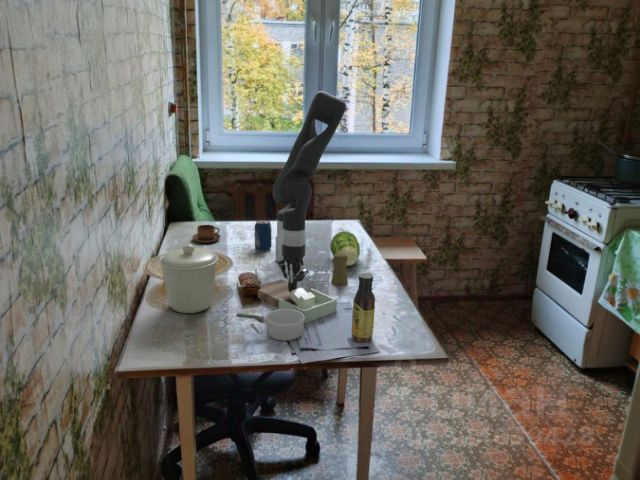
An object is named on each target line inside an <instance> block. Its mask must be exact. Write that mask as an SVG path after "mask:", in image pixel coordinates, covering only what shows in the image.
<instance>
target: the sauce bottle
mask: <svg viewBox="0 0 640 480" xmlns="http://www.w3.org/2000/svg"><path fill="white" fill-rule="evenodd" d="M373 282H374V275H373V274H371V273H368V272H363V273H360V274H359V275H358V288H357V291H356V293H355V295H354V298H353V302H352V303H353V304H352V314H351V315H352V316H351V317H352V319H351V338H352V339H353V340H354V341H356V342H360V343H361V342H362V343H367V342H369V341H371V340H372V337H373V334H374V322H375V309H376V308H375V307H376V306H375V304H376V296H375V293H374V292H373Z"/></svg>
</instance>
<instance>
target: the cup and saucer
mask: <svg viewBox="0 0 640 480" xmlns="http://www.w3.org/2000/svg"><path fill="white" fill-rule="evenodd" d="M216 230H217V232H216ZM219 233H220V228H219V227H216V226H215V225H212V224H201V225H198V226H197V233H195V234H193V235H192V236H191V238H192V239H193V241H195V242H197V243H201V244H202V243H204V244H209V243H214V242H217V241H218V240H220V238H221V234H219Z"/></svg>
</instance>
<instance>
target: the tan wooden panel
mask: <svg viewBox="0 0 640 480" xmlns="http://www.w3.org/2000/svg"><path fill="white" fill-rule="evenodd" d="M260 285H261V289H259V290H258V299H259V298H260V300H262V301H263V302H266V303H268V304H269V305H270V306H273V307H274V308H277V309H279V299H282V300H284V301H286V302H288V303H290V304H295V302H294V301H293V300H292V299H291V298H290V293H291V292H289V290H288V281H287V280H284V279H282V278H281V279H277V280H273V281H270V282H266V283H263V284H260ZM299 288H300V287H299V286H297V289H299ZM304 290H305V291H306V292H307V293H309V292H310V291H308V290H306V289H304Z"/></svg>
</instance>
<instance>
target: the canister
mask: <svg viewBox="0 0 640 480" xmlns="http://www.w3.org/2000/svg"><path fill="white" fill-rule="evenodd" d="M218 261H219V256H218V255H217V254H216V253H214V252H213V251H210V250H208V249H206V248H201V247H200V248H199V247H194V245H193V244H190V243H186V244H183V247H182V248H177V249H174V250H171V251H168V252H167V253H165V254H163V255H162V256H160V257H159V259H158V263H159V264H160V265H161V268H162V269H161V270H162V275H163V280H164V287H165V292H166V296H167V301H168V304H169V306H170V308H171V309H172V310H174V311H175V312H178V313H180V314H181V313H182V314H194V313H195V314H196V313H200V312H203V311H206V310H207V309H208V308H209V307H210V306H211V305H212V302H213V300H214V299H213V298H214V291H215V282H216V269H217V262H218Z"/></svg>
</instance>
